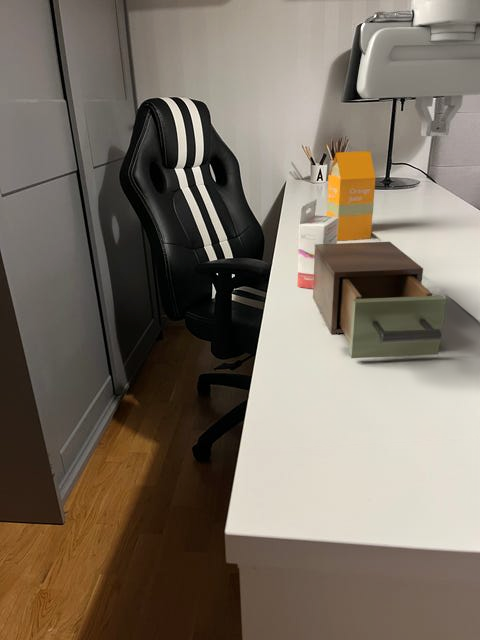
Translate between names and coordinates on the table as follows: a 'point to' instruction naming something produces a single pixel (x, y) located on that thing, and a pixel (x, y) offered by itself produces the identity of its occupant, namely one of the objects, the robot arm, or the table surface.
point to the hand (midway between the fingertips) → (434, 135)
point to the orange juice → (352, 194)
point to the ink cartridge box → (313, 240)
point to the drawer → (389, 316)
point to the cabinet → (354, 271)
